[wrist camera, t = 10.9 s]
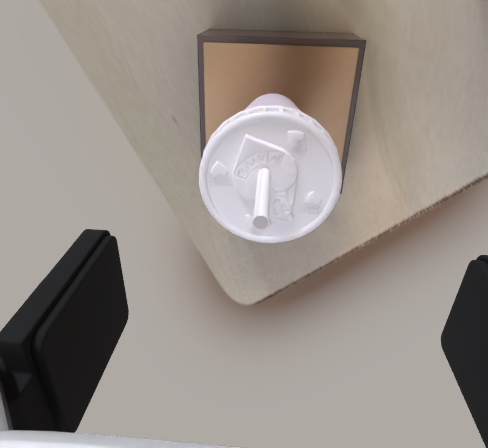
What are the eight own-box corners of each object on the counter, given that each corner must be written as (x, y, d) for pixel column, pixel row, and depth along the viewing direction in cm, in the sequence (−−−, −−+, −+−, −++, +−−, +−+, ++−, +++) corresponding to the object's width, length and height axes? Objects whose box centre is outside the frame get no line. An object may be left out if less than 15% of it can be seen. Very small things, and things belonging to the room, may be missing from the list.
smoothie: (300, 51, 24) (325, 112, 11) (335, 147, 26) (385, 277, 14) (205, 97, 25) (140, 190, 13) (247, 182, 28) (225, 324, 16)
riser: (353, 33, 27) (367, 40, 23) (333, 169, 32) (341, 196, 28) (208, 28, 28) (196, 34, 24) (211, 163, 33) (201, 188, 29)
